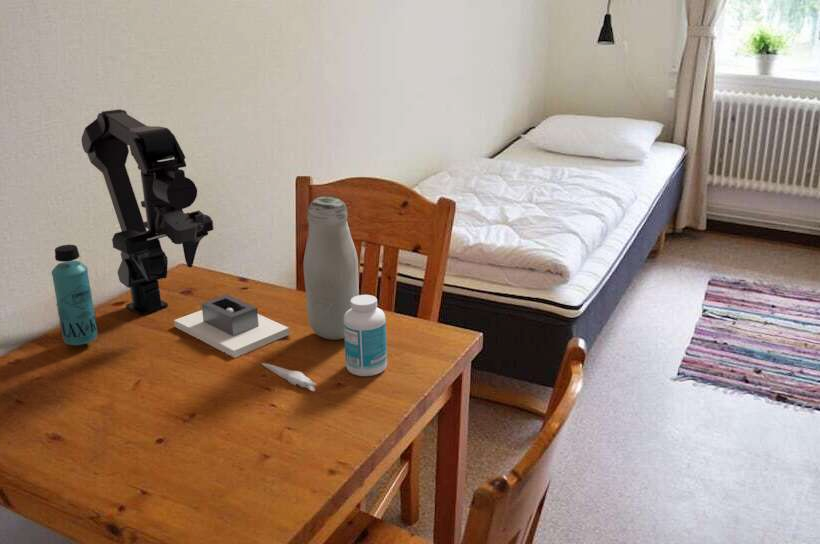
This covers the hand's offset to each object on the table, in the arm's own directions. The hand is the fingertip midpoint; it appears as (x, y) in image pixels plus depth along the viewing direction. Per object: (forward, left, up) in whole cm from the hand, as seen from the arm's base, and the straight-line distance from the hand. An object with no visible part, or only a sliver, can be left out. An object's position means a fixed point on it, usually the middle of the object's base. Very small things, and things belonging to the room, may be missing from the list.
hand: (169, 273), depth 157 cm
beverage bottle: (-7, -16, -12) cm, 21 cm away
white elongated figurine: (+32, +2, -12) cm, 34 cm away
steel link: (+9, +7, -10) cm, 15 cm away
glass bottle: (+26, +19, -12) cm, 34 cm away
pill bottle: (+40, +14, -12) cm, 44 cm away
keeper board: (+9, +7, -12) cm, 16 cm away
